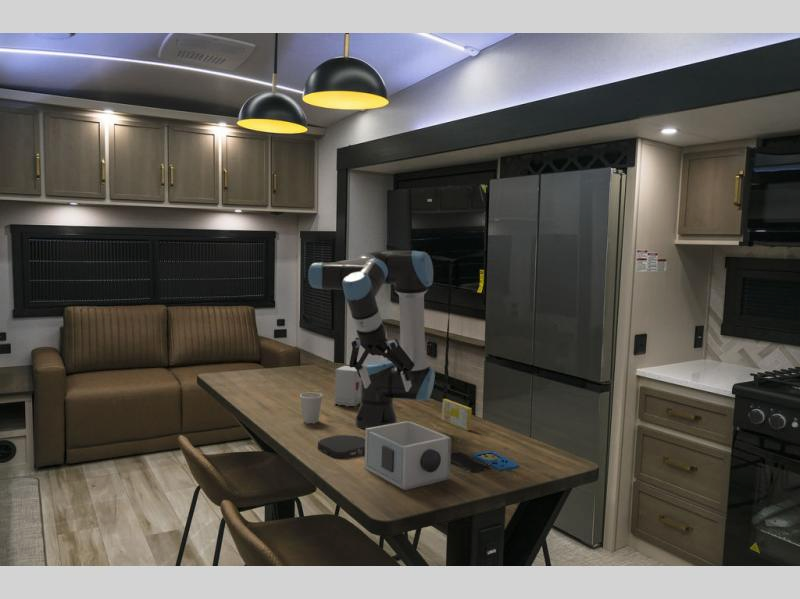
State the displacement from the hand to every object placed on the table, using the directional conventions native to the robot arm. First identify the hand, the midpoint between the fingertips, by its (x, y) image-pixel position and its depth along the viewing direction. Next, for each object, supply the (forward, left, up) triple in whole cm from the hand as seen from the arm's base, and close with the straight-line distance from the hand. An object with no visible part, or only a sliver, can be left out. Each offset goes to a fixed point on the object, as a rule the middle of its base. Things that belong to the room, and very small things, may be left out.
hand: (388, 387), depth 184 cm
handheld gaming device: (-18, +31, -25) cm, 43 cm away
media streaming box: (-14, -17, -25) cm, 33 cm away
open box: (+1, +7, -25) cm, 26 cm away
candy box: (-53, +13, -25) cm, 60 cm away
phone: (-13, +22, -25) cm, 35 cm away
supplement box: (-69, -34, -25) cm, 81 cm away
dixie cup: (-40, -39, -25) cm, 61 cm away
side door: (+7, +1, -23) cm, 24 cm away
